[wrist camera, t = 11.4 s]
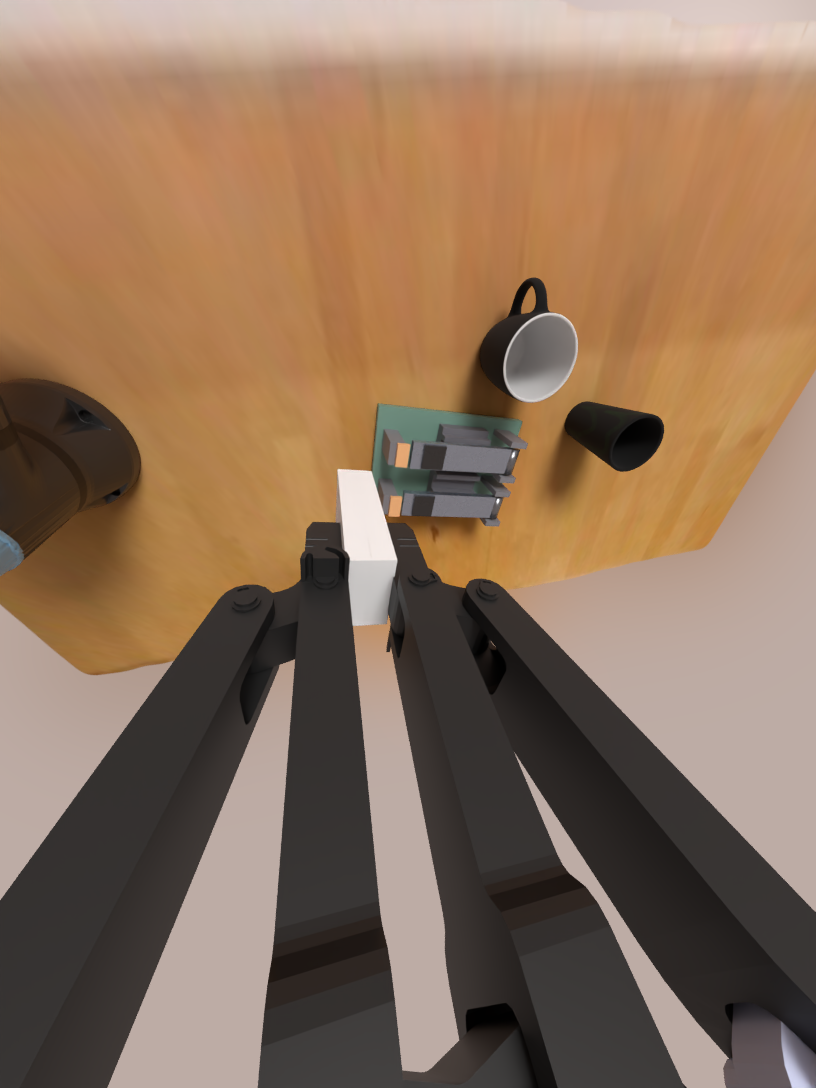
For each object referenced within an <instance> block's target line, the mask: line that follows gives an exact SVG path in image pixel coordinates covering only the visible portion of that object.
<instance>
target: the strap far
mask: <svg viewBox="0 0 816 1088" xmlns="http://www.w3.org/2000/svg"><path fill="white" fill-rule="evenodd" d="M503 498H504V497H495V496H494V495H491V494H470V493H450V492H429V491H409V490H403V496H402V503H401V510H400V513H401V515H406V516H441V517H475V518H491V519H496V518H497V515H498V512H499V509H500V506H501V504H502V501H503Z"/></svg>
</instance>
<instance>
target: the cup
mask: <svg viewBox="0 0 816 1088" xmlns="http://www.w3.org/2000/svg"><path fill="white" fill-rule="evenodd" d="M565 430H566V432H567V434H568V435H570V436H571V437H572V438H574V439H575V440H576V441H578V442H579V443H580V444H582V445H583V446H584V447H586V448H587V449H588V450H590V451H591V452H592V453H594V454H595V455H596V456H598V457H599V458H600V459H602V460H603V461H604V462H606V463H607V464H608V465H610V466H611V467H612V468H614V469H615V470H617V471H621V472H623V471H630V470H633V469H635V468H637V467H639V466H641V465H642V464H644V463H645V462H646V461H648V460H649V459H650V458H651V457H652V456H653V454H654V453H655V452H656V451H657V449H658V447H659V446H660V444H661V441H662V439H663V434H664V424H663V422H662V420H661V419H660V418H659V417H658V416H656V415H653V414H648V413H643V412H638V411H633V410H628V409H623V408H618V407H613V406H608V405H603V404H598V403H593V402H582V403H580V404H578V405H576V406H575V407H574V408H573V409H572V410H571V411H570V413H569V414H568V416H567V418H566V422H565Z"/></svg>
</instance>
